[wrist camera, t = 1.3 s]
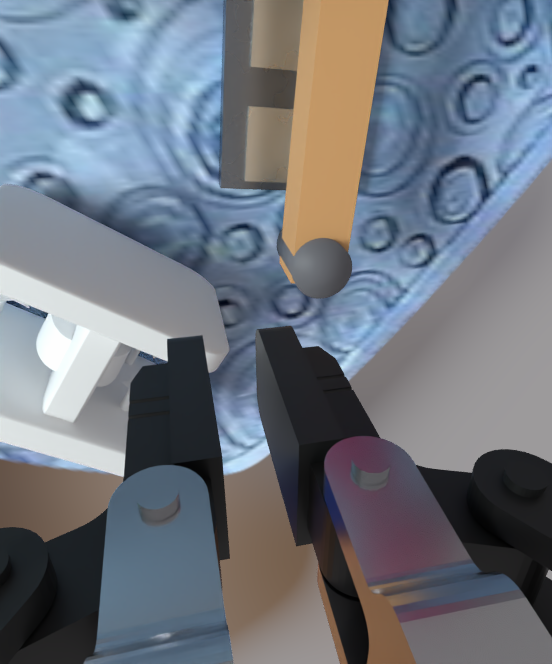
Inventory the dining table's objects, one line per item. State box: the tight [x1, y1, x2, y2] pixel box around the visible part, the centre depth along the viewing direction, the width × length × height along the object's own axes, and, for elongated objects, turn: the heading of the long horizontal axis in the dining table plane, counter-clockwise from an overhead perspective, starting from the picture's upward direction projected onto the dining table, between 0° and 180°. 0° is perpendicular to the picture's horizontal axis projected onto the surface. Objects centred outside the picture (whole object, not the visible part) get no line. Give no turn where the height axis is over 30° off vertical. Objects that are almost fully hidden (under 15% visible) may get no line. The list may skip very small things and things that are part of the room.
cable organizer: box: [0, 184, 229, 477], centre depth 30 cm, size 15×11×12 cm
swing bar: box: [277, 0, 389, 298], centre depth 25 cm, size 16×3×4 cm, turn 175°
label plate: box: [219, 0, 304, 190], centre depth 31 cm, size 12×9×2 cm
